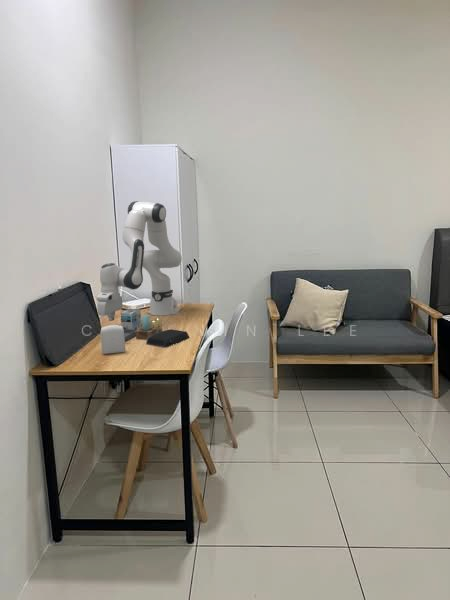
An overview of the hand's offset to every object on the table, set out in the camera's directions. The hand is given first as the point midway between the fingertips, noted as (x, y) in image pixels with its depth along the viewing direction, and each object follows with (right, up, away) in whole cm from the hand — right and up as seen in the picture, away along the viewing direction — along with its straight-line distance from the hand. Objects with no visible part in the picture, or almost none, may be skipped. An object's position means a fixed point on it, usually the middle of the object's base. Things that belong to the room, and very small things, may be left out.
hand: (111, 320), depth 241 cm
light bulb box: (+11, -6, 0) cm, 12 cm away
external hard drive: (+32, -10, -20) cm, 39 cm away
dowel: (+21, -8, -13) cm, 26 cm away
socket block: (+21, -8, -13) cm, 26 cm away
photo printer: (+10, -13, -37) cm, 40 cm away
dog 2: (+25, -6, -3) cm, 26 cm away
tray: (+10, -8, -13) cm, 18 cm away
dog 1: (+24, -7, -8) cm, 26 cm away
